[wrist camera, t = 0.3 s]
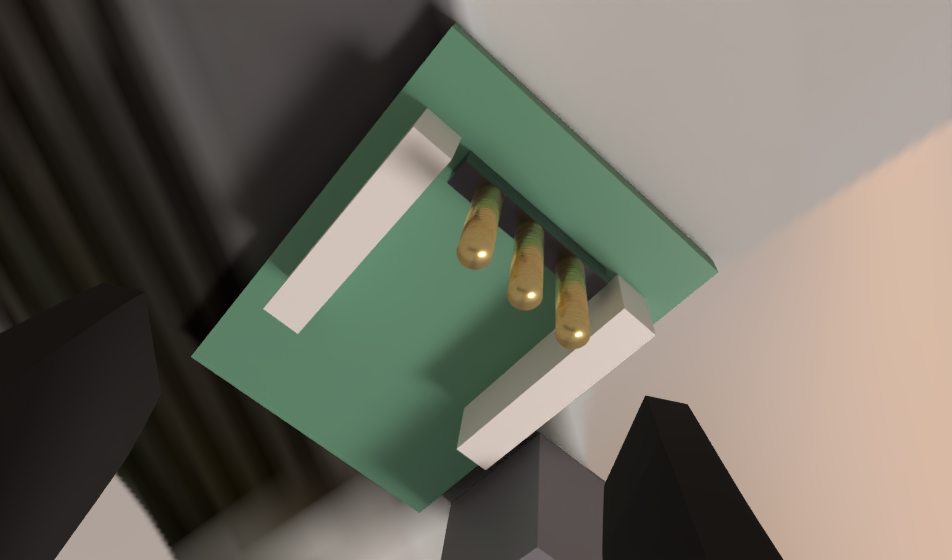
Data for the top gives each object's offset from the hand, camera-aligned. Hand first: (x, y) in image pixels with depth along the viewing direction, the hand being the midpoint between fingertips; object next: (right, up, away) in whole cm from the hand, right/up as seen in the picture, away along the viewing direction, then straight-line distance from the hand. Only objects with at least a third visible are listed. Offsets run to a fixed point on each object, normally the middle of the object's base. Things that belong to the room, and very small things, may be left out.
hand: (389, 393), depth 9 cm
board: (0, +1, +12) cm, 12 cm away
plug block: (+3, -7, +15) cm, 17 cm away
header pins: (+3, +4, +10) cm, 11 cm away
